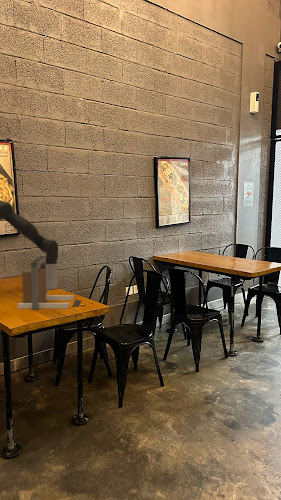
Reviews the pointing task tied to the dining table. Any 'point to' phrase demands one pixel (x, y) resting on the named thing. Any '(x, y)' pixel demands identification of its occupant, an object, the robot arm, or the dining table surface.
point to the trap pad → (76, 303)
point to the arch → (34, 279)
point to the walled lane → (50, 305)
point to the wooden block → (28, 286)
